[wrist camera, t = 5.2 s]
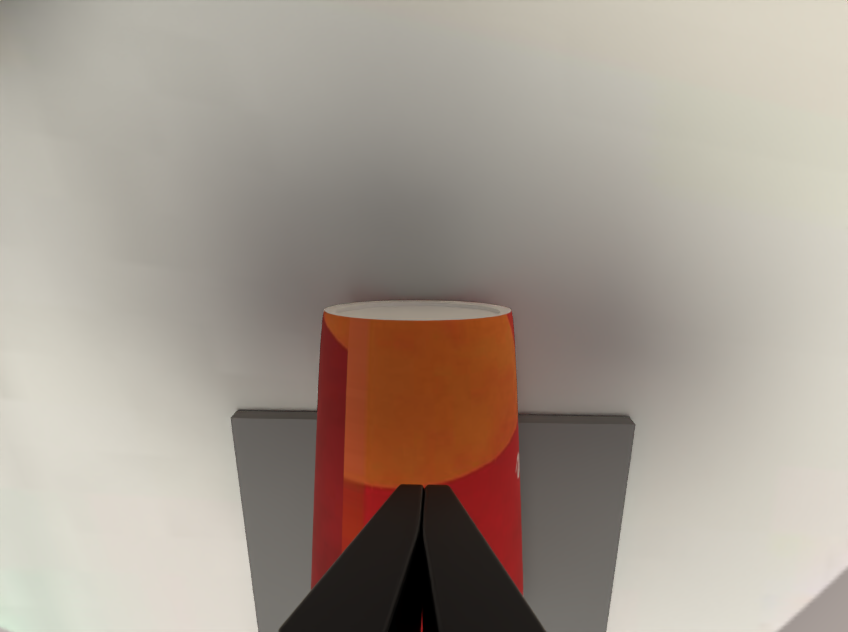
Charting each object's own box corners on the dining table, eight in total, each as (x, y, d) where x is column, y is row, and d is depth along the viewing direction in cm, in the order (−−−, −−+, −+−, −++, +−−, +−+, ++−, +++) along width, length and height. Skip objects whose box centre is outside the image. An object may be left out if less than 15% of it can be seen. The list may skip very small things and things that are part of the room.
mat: (237, 410, 18) (230, 418, 18) (629, 416, 18) (635, 424, 17) (268, 662, 22) (263, 675, 22) (594, 672, 22) (598, 686, 21)
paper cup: (403, 294, 19) (403, 607, 21) (226, 310, 13) (247, 747, 15) (595, 306, 15) (576, 710, 16) (458, 340, 9) (449, 971, 10)
